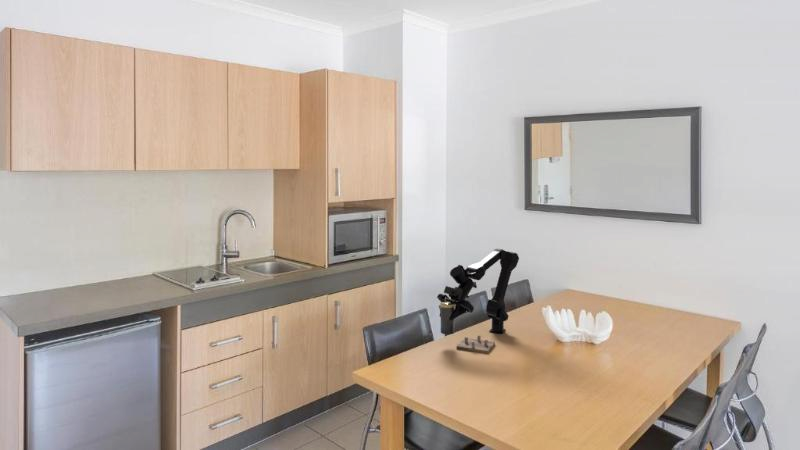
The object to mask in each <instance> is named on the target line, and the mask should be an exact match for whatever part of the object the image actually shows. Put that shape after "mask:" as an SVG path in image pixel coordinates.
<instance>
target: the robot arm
mask: <svg viewBox="0 0 800 450" xmlns="http://www.w3.org/2000/svg"><path fill="white" fill-rule="evenodd" d="M519 260H520V257H519V254H518V253H517V252H513V251H506V250H504V249H502V248H494V249H493V251H491V252H490V253H489V254H488V255H486V256H485V257H484V258H483V259H481V260H480V261H478V262H476V263H473V264H470V265H469V266H467V267H466V268H464V266H463V265H462V264H458V265H457V266H455V267H453V268H452V269H451V270H450V272H449V276H450V277H451V278H452V279H453V280H454V281H455V282H456V283H457V285H458V286H455V287H451V286H447V285H446V286H445V287H444V291H443V293H440V292H439V293H438V294H437V296H436V298H437V300H438V301H439V302H440V304H441V303H442V302H453V303H454V312H453V313H452V315H451V317H450V320H453V319H454V320H455V319H457V318H458V317H460V316H462V315H464V314H467V313H470V314H472V313H473V311H474V309H475V307H474V305H473V304H472V303H471V302H470V301H469V300H466V299H469V297H470V295H469V294H470V292H471V291H472V289H477V287H478V286H477V282H476V281H481V279H482V278H483V277H485V275H486V272H487V270H488V269H490V268H491V267H492V266H494V265H495V264H496V263H497V262H499V264H500V267H501V268H500V271H499V272H500V273H499V276H498V280H497V283H496V287H495V290H494V293H493V297H492V298H491V299H488V300H487V304H486V305H485V308H486V309H485V312H486V315H487V318H488V319H491V328H490V330H489V333H496V334H500V335H501V334H504V333H505V331H506V328H505V326H504V323H505V322H506V321H508V320H509V314H508V313H507V311H506V303H505V296H506V293H507V289H508V285H509V281H510V277H511V276H512V275H511V274H512V272H513V271H514V270H515V268H517V266H518V263H519ZM439 317H440V318H441V310H440V312H439Z"/></svg>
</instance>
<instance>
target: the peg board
mask: <svg viewBox="0 0 800 450" xmlns="http://www.w3.org/2000/svg"><path fill="white" fill-rule="evenodd" d="M495 346H496V342H495V341H488V339H484V340H482V339H481V335H479V334H477V338H476V339H475V338H469V337H467V336H464V339H462V340H461V341H460V342H459V343H458V344H457V345H456V349H457V350H462V351H468V352H475V353H481V354H482V353H483V354H489V353H490V352H491V350H492V349H493V348H494V347H495Z"/></svg>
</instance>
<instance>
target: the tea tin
mask: <svg viewBox="0 0 800 450" xmlns="http://www.w3.org/2000/svg"><path fill="white" fill-rule="evenodd" d="M454 310H455V304H454V303H453V302H442V303H441V302H440V311H441V317H440V333H441V334H442V335H453V334H455V319H453V320H450V317H451V315H452V313H453V312H454Z"/></svg>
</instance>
